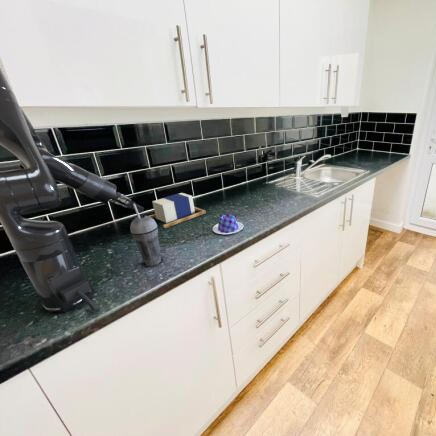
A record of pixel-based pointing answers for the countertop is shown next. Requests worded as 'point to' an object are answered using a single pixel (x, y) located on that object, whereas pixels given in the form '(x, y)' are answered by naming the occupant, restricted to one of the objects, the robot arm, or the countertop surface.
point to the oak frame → (183, 218)
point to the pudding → (227, 225)
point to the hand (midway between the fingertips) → (142, 210)
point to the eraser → (173, 207)
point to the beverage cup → (146, 238)
